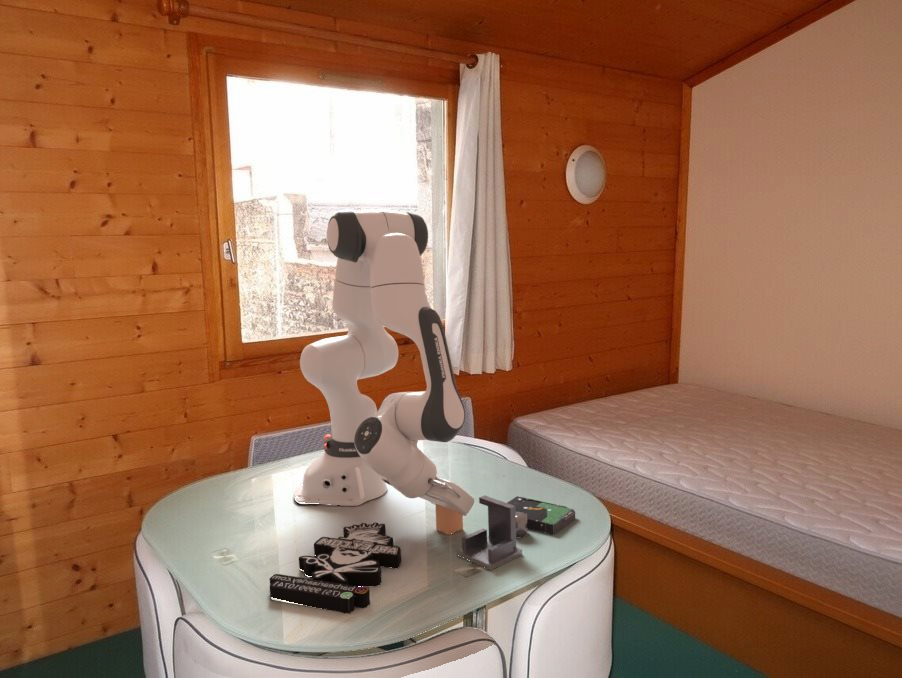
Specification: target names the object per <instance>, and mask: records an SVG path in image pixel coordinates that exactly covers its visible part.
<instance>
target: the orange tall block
mask: <svg viewBox="0 0 902 678" xmlns="http://www.w3.org/2000/svg"><path fill="white" fill-rule="evenodd" d="M463 517H464V516H463V515H461V514H459V513H458V512H456V511H454V510H451V509H448V508H446V507H443V506H441V505H438V504H436V505H435V526H436V527H435V530H436V529H437V530H436V531H438V530H440V531H439V532H441V531H443V532H445V533H447V534H446V535H448V534H451V533H453V534H455V533H454V532H456V531H458V532H460V531H463V529H464V521H463V520H464V518H463ZM459 530H460V531H459ZM443 532H442V533H443ZM445 533H444V534H445ZM456 533H457V532H456ZM451 535H452V534H451Z"/></svg>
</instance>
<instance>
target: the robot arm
mask: <svg viewBox="0 0 902 678" xmlns="http://www.w3.org/2000/svg"><path fill="white" fill-rule="evenodd" d="M326 240H327V246H328V249H329V251H330V252H331V253H332V255H334V257H336V258H337V259H336V260H337V261H336V264H335V265H336V267H335V271H334V273H335V274H334V283H333V293H332V304H331V306H332V310H333V313H334V314H335V315H336V317H338V318H339V319H340V320H341V321H344V322H345V323H347V325H348V329H347V330H348V331H347V334H345V335H340V336H339V335H338V336H332V337H326V338H321V339H319V340H317V341H314V342H312V343H309V344H307V345H306V346H305V347H304V348H303V350H302V352H301V354H300V358H299V366H300V367H299V368H300V370H301V373H302V375H303V377H304V378H305V380H306V381H307V382H308V383H310V384H311V385H313V386H315V388H317V389H318V390H320V392H321V393H322V395H323V396H324V398H325V400H326V403H327V405H328V409H329V415H330V426H331V434H329V433H328V434H326V435H325V436H324V438H323V450H324V453H323V454H321V455H319V457H317V458H316V459H315V460H314V461H313V462H311V463H310V464H309V465H308V467H306V470H305V472H304V474H303V479H302V483H301V484H303V486H300V485H301V484H299V485H298V486H297V487H296V488H295V490H294V493H293V498H294V497H296V496H298V497H300V498H296V500H297V501H298V502H305V503H319V504H331V505H330V506H337V505H340V507H341V506H346V507H348V506H349V507H351V506H352V507H357V506H360V505H363V504H364V503H366V502H368V501H372V500H374V499H378V498H379V497H381V496H383V495H384V494H386V493H387V491H388V486H387V485H389V486H391V487H393V488H394V489H395V490H396V491H397V492H400V494H402V495H403V496H404V497H405V498H408V499H417V498H420V499H422V500H425V501H427V502H430V503H431V504H433V505H434V506H436V504H438V505H441V506H443V507H446V508H448V509H451V510H454V511H456V512H458V513H459V514H461V515H463V517H466V516H467V515H468V514H469V513H470V512H471V510H472V508H473V506H474V504H475V498H474V497H473V496H472V495H471V494H469V493H468V492H467V491H466V490H464V489H463V488H462V487H460V485H458V484H456V483H455V482H452V481H450V480H447V479H445V478H443V477H442V478H441V477H438V476H437V475H438V473H437V472H438V470H437V469H438V468H437V466H436V464H435V463H434V461H432V460H431V459H430V458H429V457H428V456H427V455H426V454H425V453H424V452H423V451H422V450H421V449H419V447H418V442H419V441H430V442H440V443H448V442H450V441H452V440H453V439H454V438H455V437H456V436H457V435H458V434H459V433H460V431H461V430H462V428H463V426H464V424H465V419H466V410H465V406H464V403H463V400H462V398H461V395H460V393H459V389H458V386H457V383H456V378H455V374H454V373H455V372H454V370H453V369H454V368H453V364H452V359H451V355H450V350H449V347H448V342H447V338H446V333H445V328H444V325H443V321H442V320H441V317H440V315H439V313H438V312H437V311H436V310H434V309H433V308H432V307H431V305H430V303H429V300H428V297H427V293H426V289H425V287H426V286H425V275H424V271H423V270H424V268H423V264H422V259H421V256H422V255H423V254H424V252H426V250H427V247H428V243H429V231H428V226H427V224H426V222H425V220H424V218H423V217H422V216H421V215H419V214H416V213H413V212H409V211H402V212H401V211H399V210H398V211H397V210H391V209H381V208H379V209H361V210H360V209H359V210H358V209H357V210H353V209H345V210H344V209H343V210H338V211H335V212H334V213H333V214H332V216H331V217H330V218H329V221H328V224H327V228H326ZM386 329H388V330H390V331H391V332H395V333H398V334H400V335H404V336H405V337H407V338H409V339H410V340H412V341H413V343H414V344H415V345H416V346H417V348H418V351H419V353H420V359H421V364H422V370H423V374H424V378H425V383H426V388H425V389H426V390H422V391H421V390H420V391H401V392H393V393H389V394H388V395H387V396H385V397H384V398H383V400H382V401H381V403H380V405H379V407H378V409H377V406H376V405H377V404H376V403H375V401H374V400H373V399H372V398H371V397H369V396H368V395H366V394H363V393H361V392H360V390H359V387H358V380H362V379H367V378H372V377H377V376H379V375H382V374H384V373H386V372H388V371H390V370H392V369H393V368H394V367H396V365H397V362H398V361H399V360H398V359H399V348H398V344H397V342H396V340H395V338H394V337H393V336H392V335H391V334H389V333H388V332H387V330H386ZM294 495H295V496H294Z"/></svg>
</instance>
